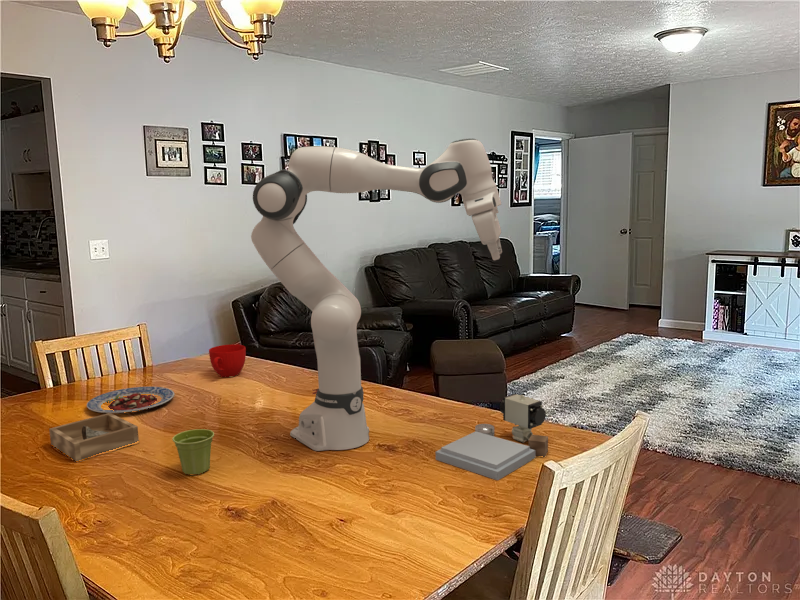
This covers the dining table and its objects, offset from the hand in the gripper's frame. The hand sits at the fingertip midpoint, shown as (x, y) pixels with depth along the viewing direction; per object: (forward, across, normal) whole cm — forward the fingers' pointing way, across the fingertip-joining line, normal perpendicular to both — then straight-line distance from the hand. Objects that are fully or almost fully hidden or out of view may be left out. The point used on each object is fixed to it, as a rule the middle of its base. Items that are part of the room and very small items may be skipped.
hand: (498, 256), depth 160 cm
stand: (+45, +15, -15) cm, 50 cm away
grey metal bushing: (+45, 0, -16) cm, 48 cm away
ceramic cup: (+21, -45, -110) cm, 121 cm away
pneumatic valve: (+48, +1, -7) cm, 48 cm away
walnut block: (+48, +10, -3) cm, 50 cm away
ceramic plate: (+15, -11, -125) cm, 126 cm away
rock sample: (+16, +22, -113) cm, 116 cm away
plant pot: (+26, +32, -80) cm, 90 cm away
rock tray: (+17, +21, -114) cm, 117 cm away
